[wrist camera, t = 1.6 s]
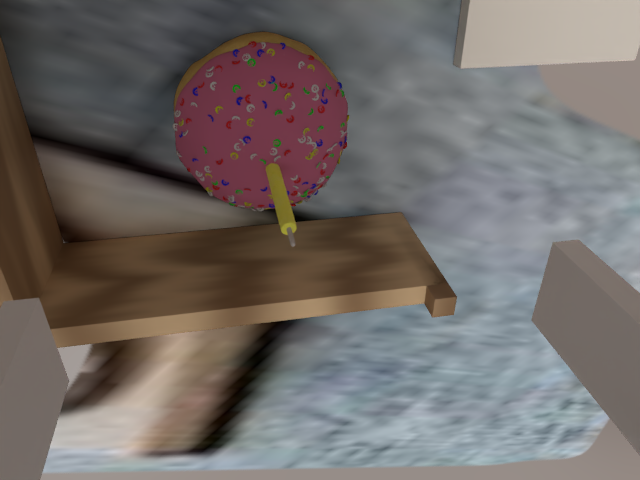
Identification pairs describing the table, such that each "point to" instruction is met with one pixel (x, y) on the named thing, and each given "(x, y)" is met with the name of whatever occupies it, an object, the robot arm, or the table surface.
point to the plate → (546, 32)
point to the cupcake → (261, 123)
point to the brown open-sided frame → (194, 263)
